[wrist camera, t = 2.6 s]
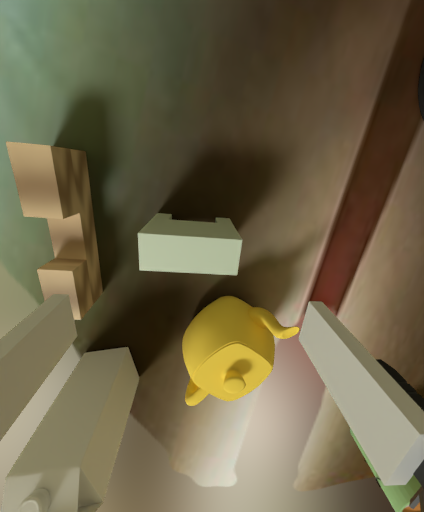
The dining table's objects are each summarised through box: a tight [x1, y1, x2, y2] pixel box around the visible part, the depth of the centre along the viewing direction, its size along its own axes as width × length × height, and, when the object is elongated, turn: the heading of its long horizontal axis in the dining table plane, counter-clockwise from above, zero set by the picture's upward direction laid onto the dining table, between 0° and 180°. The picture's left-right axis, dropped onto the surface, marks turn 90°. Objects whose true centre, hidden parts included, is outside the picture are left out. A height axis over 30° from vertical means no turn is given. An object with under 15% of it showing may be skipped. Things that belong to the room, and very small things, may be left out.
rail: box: [6, 142, 103, 320], centre depth 24 cm, size 18×4×6 cm, turn 175°
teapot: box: [182, 296, 300, 406], centre depth 28 cm, size 18×11×11 cm, turn 138°
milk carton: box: [1, 347, 139, 512], centre depth 27 cm, size 7×7×19 cm
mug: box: [350, 428, 421, 512], centre depth 40 cm, size 13×10×12 cm
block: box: [138, 213, 242, 275], centre depth 23 cm, size 4×9×9 cm, turn 85°
